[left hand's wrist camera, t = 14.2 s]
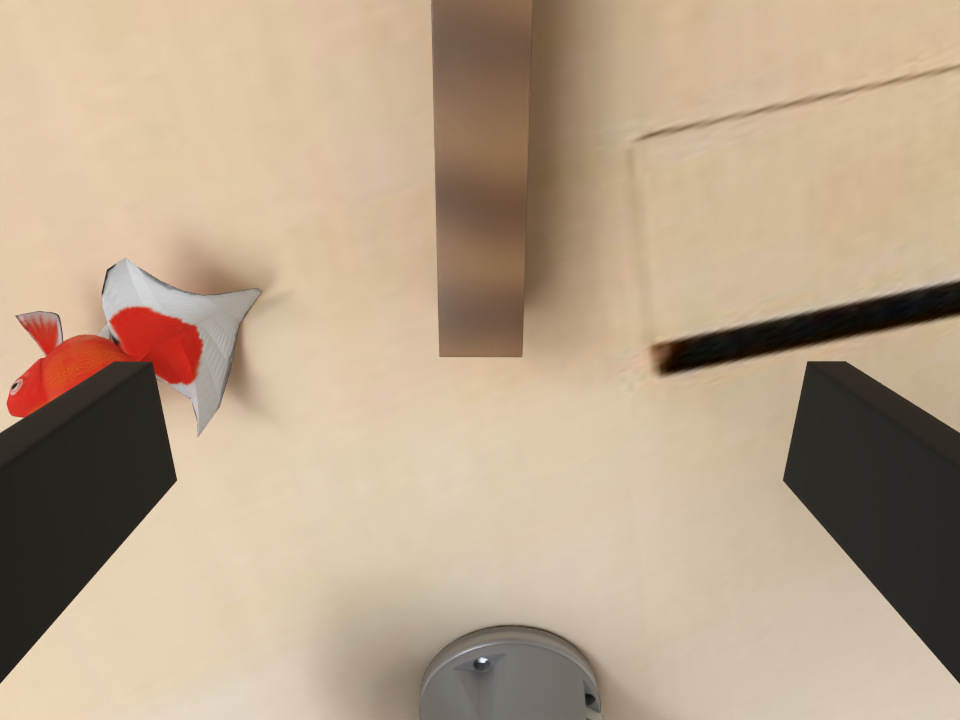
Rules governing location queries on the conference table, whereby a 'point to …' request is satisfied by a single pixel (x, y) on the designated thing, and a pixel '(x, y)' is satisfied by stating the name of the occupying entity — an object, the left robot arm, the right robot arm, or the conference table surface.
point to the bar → (481, 172)
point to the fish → (140, 341)
